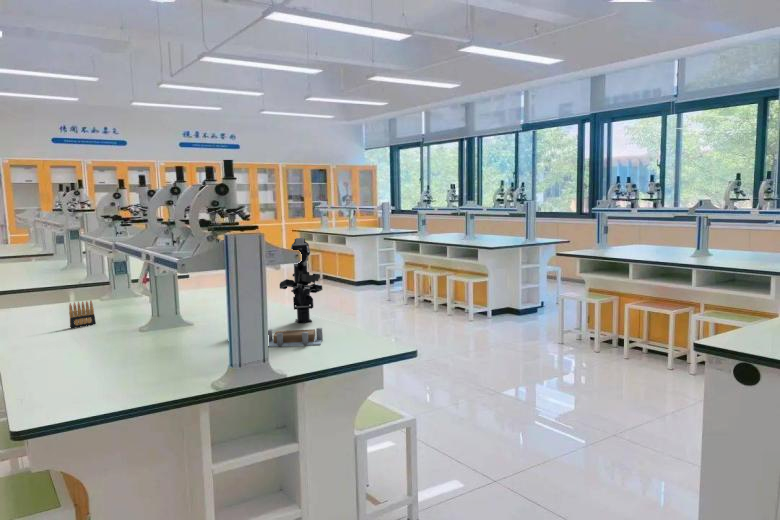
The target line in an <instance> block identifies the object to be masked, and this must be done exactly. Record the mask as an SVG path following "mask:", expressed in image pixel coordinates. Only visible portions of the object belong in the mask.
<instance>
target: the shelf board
mask: <svg viewBox="0 0 780 520" xmlns="http://www.w3.org/2000/svg"><path fill="white" fill-rule="evenodd" d="M302 332H308V342H314V339H315V337H316V328H314V329H293V330H292V329H291V330H290V329H289V330H276V331H275V332H274V334H273V335H272V339H274V343H277V333H283V343H291V342H302Z"/></svg>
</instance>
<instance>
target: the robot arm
mask: <svg viewBox="0 0 780 520" xmlns="http://www.w3.org/2000/svg"><path fill="white" fill-rule="evenodd" d="M291 249H293V250H299V251H300V252H301V254H302V261H301V262H300V263H298V264H294V263H293V273H292V277H293V278H294V279H288V278H286V279H283V280H282V281H280V283H279V290H286V289H288V287H289V288H292V289H291V291H290V292H292V293H293V295H294V296H293V298H292V300H293V310H296V316H297V317H296V318H295V322H297V323H298V324H302V323H311V322H312V321H313V320H312V319H311V318H310V317H311V316H310V309H311V310H312V309H313V308H314V298H313V297H312V295H311V294H310V293H312V294H317V293H319V292H321V291H323V285H322V284H321V283H316V282H319V279H320V275H319V274H318V273H312V275H311V274H310V271H308V261H309V256H310V254H311V249H310V244H309V243H308V242H307V241H306V238H304V237H298V238H297V237H295V238H294V242H293V243H292V244H291V246H290V250H291Z"/></svg>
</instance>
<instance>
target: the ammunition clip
mask: <svg viewBox="0 0 780 520" xmlns="http://www.w3.org/2000/svg"><path fill="white" fill-rule="evenodd" d="M68 308H69V309H68V311H69V313H68V315H69V327H71V328H70V329H75V328H74V327H77V328H81V327H80V326H84V327H87V326H86V325H90V326H94V325H93V324H96V323H97V322H96V316H95V311H94V310H95V309H94V304H93V301H92V300H90V301H89V302H88V300H86V301H85V303H84V301H83V300H82V302H81V304H80V302H79V301H78V302H77V304H76V303H75V302H73V304H72V303H70V302H69V305H68ZM96 325H97V324H96Z"/></svg>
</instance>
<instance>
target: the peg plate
mask: <svg viewBox="0 0 780 520" xmlns="http://www.w3.org/2000/svg"><path fill="white" fill-rule="evenodd" d="M267 330H268V335H269V347H268V348H276V347H278V348H279V347H280V348H281V347H303V346H304V347H306V346H321V344H322V341H323V340H324V339H323V335H324V334H323V328H322V327H316V328H315V334H316V336H315V339H314V342H308V332H302V342H291V343H283V333H277V343H274V339H273V330H272V329H267Z"/></svg>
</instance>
